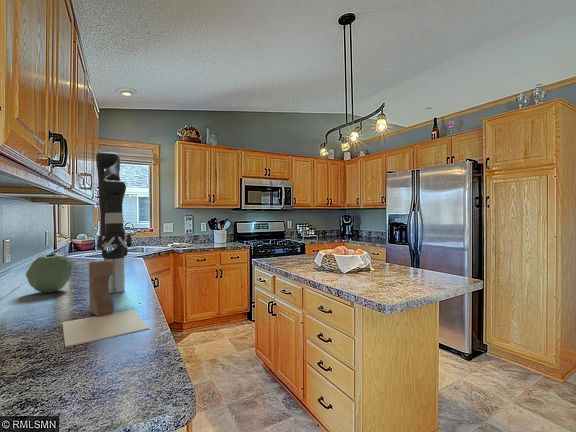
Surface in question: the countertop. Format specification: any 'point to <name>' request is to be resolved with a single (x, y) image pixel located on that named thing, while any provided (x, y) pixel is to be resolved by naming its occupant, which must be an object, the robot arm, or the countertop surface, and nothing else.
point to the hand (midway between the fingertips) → (115, 257)
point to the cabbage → (49, 272)
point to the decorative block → (100, 288)
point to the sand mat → (102, 327)
